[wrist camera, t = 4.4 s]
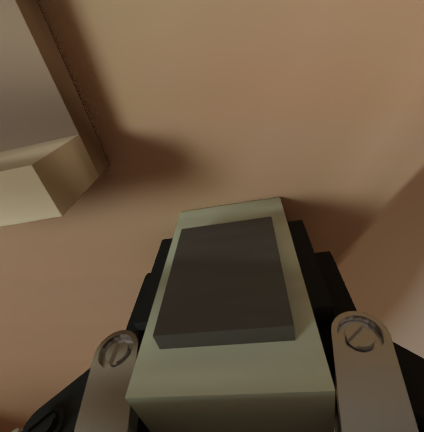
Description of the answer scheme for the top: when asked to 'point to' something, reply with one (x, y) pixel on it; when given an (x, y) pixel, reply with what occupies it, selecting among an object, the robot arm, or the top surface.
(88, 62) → the top surface
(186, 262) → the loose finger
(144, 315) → the robot arm
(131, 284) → the top surface
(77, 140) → the rail board
